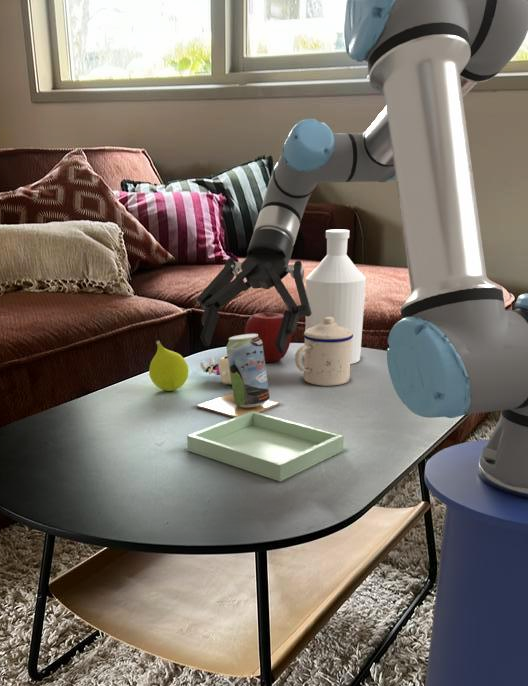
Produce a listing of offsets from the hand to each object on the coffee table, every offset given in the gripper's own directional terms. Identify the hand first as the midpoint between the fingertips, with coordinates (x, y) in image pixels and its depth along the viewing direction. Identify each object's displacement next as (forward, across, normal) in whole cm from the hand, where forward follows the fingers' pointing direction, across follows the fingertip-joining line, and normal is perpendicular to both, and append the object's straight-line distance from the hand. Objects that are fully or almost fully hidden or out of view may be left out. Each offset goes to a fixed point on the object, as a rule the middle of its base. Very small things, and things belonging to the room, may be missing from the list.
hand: (241, 345), depth 128 cm
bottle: (-17, -6, -32) cm, 36 cm away
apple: (-12, +6, -27) cm, 30 cm away
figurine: (-1, +7, -15) cm, 17 cm away
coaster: (+8, 0, -6) cm, 10 cm away
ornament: (+5, +16, -9) cm, 19 cm away
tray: (+21, -12, +6) cm, 25 cm away
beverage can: (+8, -2, -6) cm, 10 cm away
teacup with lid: (-5, -9, -20) cm, 22 cm away
